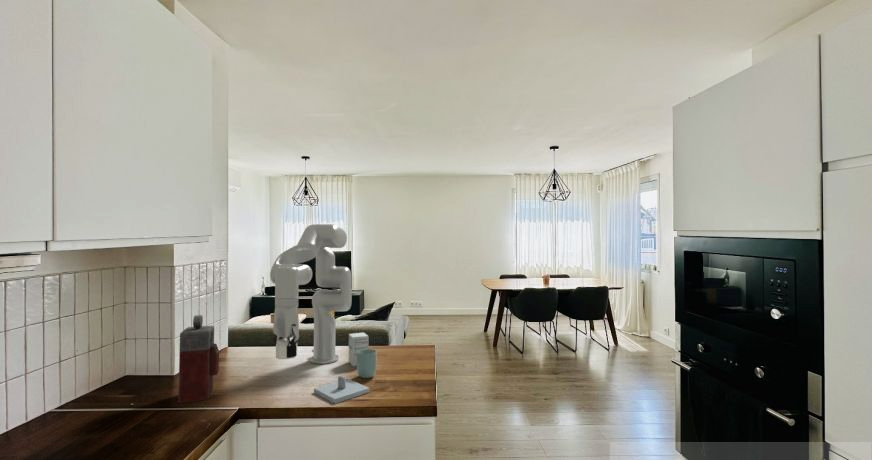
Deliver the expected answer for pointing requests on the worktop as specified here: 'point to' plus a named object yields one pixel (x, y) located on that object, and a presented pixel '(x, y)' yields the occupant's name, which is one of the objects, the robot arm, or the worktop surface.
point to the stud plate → (341, 390)
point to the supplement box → (357, 346)
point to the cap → (283, 349)
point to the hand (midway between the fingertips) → (286, 354)
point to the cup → (366, 363)
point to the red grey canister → (197, 361)
